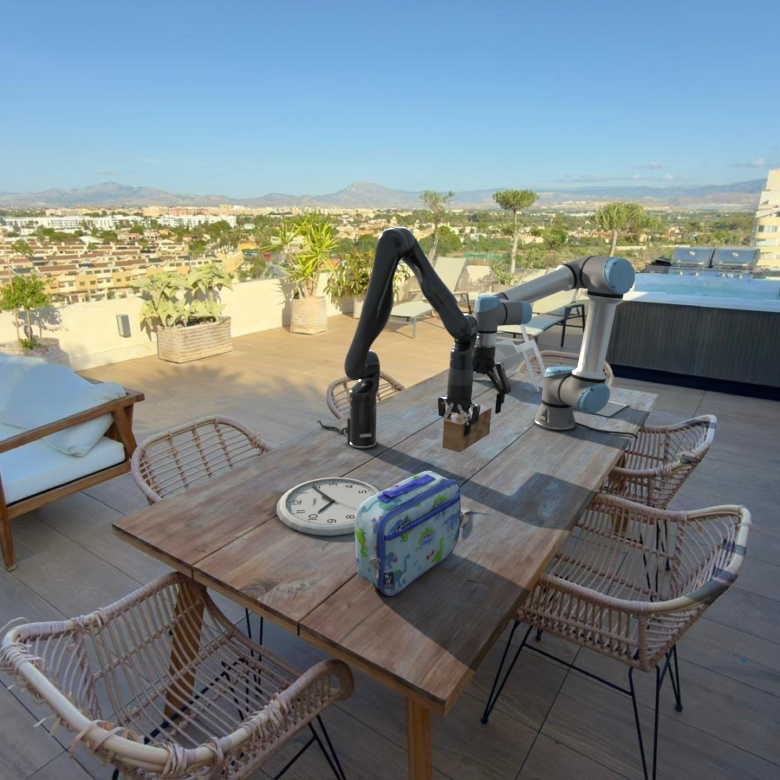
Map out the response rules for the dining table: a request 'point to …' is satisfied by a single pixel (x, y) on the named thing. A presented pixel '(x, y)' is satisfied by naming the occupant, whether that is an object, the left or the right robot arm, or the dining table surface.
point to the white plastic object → (516, 355)
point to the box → (455, 430)
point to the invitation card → (611, 408)
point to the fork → (465, 509)
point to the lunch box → (406, 530)
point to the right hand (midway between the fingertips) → (478, 408)
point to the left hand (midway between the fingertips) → (456, 432)
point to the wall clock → (324, 505)
